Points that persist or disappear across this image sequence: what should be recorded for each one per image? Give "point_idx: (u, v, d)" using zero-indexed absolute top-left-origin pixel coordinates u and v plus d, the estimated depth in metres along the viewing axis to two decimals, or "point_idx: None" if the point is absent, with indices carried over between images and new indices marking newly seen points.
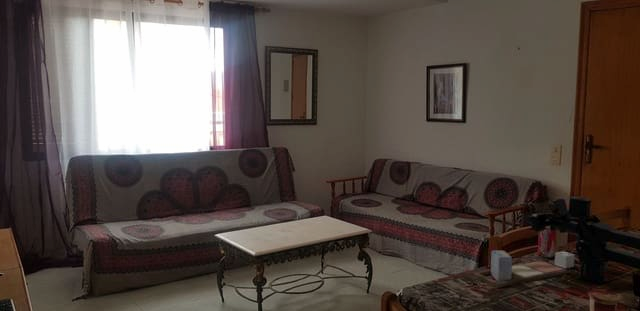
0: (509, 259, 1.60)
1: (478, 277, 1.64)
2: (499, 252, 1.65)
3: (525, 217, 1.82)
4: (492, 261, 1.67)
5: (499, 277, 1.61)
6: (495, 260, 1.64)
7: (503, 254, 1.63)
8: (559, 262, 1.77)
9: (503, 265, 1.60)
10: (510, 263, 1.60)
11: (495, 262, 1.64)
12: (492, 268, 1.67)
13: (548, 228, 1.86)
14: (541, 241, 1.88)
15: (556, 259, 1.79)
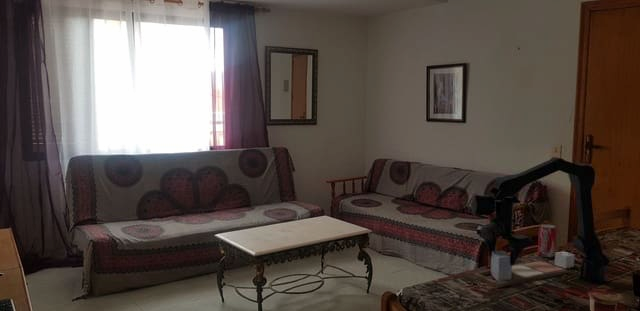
0: (509, 259, 1.60)
1: (478, 277, 1.64)
2: (499, 252, 1.65)
3: (513, 262, 1.60)
4: (492, 261, 1.67)
5: (499, 277, 1.61)
6: (495, 260, 1.64)
7: (503, 254, 1.63)
8: (559, 262, 1.77)
9: (503, 265, 1.60)
10: (510, 263, 1.60)
11: (495, 262, 1.64)
12: (492, 268, 1.67)
13: (548, 228, 1.86)
14: (541, 241, 1.88)
15: (556, 259, 1.79)
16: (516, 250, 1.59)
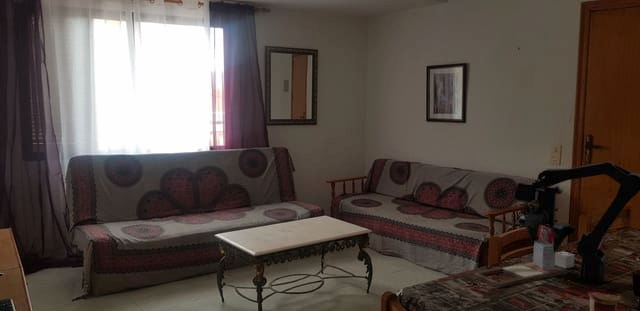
0: (553, 248, 1.69)
1: (478, 277, 1.64)
2: (542, 241, 1.74)
3: (556, 249, 1.68)
4: (535, 250, 1.75)
5: (543, 265, 1.69)
6: (538, 249, 1.73)
7: (546, 244, 1.71)
8: (559, 262, 1.77)
9: (547, 253, 1.69)
10: (553, 252, 1.69)
11: (538, 251, 1.73)
12: (535, 257, 1.75)
13: (548, 228, 1.86)
14: None
15: (556, 259, 1.79)
16: (559, 237, 1.67)
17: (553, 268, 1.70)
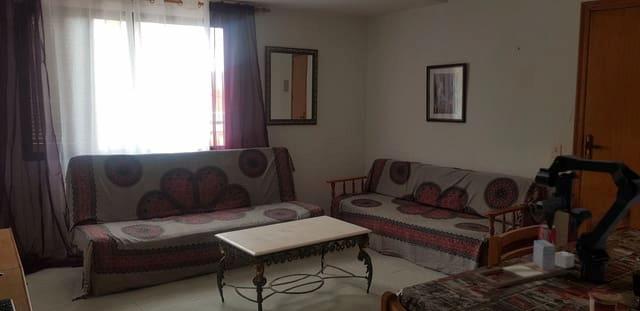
0: (553, 248, 1.69)
1: (478, 277, 1.64)
2: (542, 241, 1.74)
3: (573, 234, 1.70)
4: (535, 250, 1.75)
5: (543, 265, 1.69)
6: (538, 249, 1.73)
7: (546, 244, 1.71)
8: (559, 262, 1.77)
9: (547, 253, 1.69)
10: (553, 252, 1.69)
11: (538, 251, 1.73)
12: (535, 257, 1.75)
13: None
14: None
15: (556, 259, 1.79)
16: (577, 222, 1.69)
17: (553, 268, 1.70)
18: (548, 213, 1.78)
